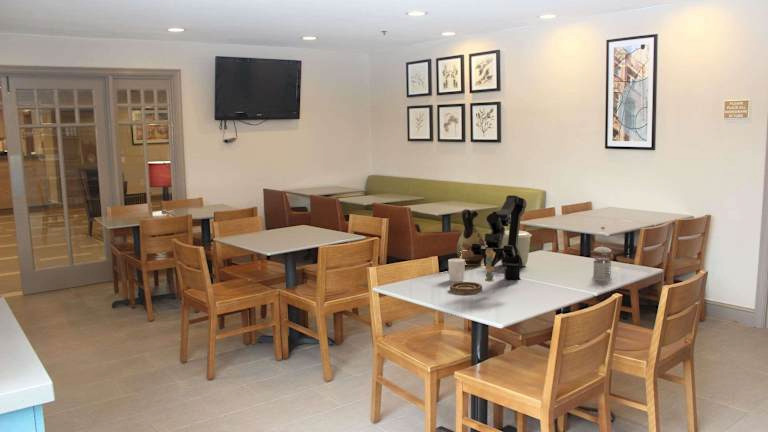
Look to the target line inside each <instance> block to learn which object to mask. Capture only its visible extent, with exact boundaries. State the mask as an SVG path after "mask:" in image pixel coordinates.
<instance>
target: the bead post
mask: <svg viewBox="0 0 768 432" xmlns="http://www.w3.org/2000/svg"><path fill="white" fill-rule="evenodd" d="M494 254H495V252H494V251H493V250H492V248H487V250H486V255H487V258H486V262H487V265H486V267H485V270H486V273H485V277H486V278H485V279H484V281H485V282H495V278H494V272H493V270H494V268H495V266H494V267H492V262H493V260H494V257H493V255H494Z"/></svg>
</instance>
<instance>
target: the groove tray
mask: <svg viewBox="0 0 768 432" xmlns="http://www.w3.org/2000/svg"><path fill="white" fill-rule="evenodd" d="M449 291H450V292H451V293H452V294H457V295H476V294H477V295H478V294H479V293H480V294H481V293H482V292H483V285H482V284H481V283H480V282H479V283H478V282H475V281H474V282H473V281H462V282H452V283H451V284H450V285H449Z"/></svg>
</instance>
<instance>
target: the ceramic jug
mask: <svg viewBox="0 0 768 432" xmlns="http://www.w3.org/2000/svg"><path fill="white" fill-rule="evenodd" d="M478 216H479V213H478V212H477V211H475V210H473V211H471V210H470V209H468V208H467V209H466V208H465V209H463V210H462V211H461V218H462V222H463V226H464V229H463V231H462V233H461V234H460V236H459V239H458V241H457V244H456V255H457V257H458V259H460V256H461V254H462V259H464V260H465V262H466V264H467V266H480V265H482V261H484V258H483V257H482V255H474V254H473V252H472V249H471V245H472V244H473V243H478V244H481V245H482V246H486V242H485V241H484V238H483V237H482V235H481V233H480V232H479V230H478V229H477V228H476V226H475V225H474V222H473V221H474V220H475V218H477V217H478ZM462 250H467V251H462ZM460 251H461V252H462V253H461V252H460Z"/></svg>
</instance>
